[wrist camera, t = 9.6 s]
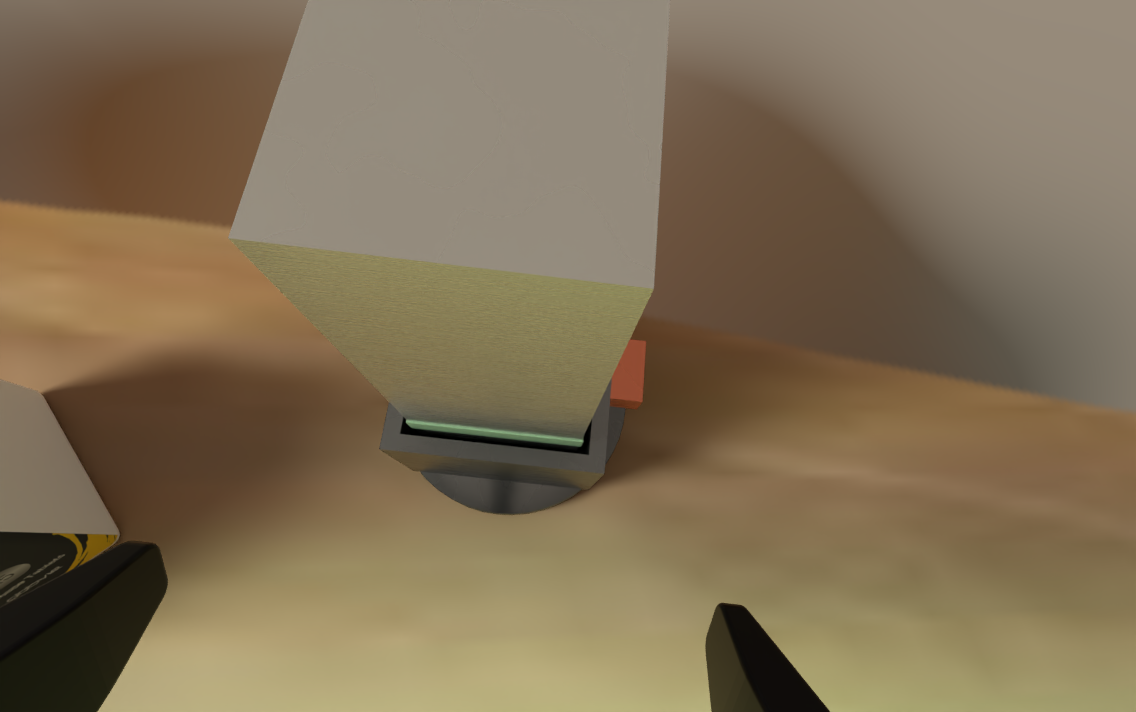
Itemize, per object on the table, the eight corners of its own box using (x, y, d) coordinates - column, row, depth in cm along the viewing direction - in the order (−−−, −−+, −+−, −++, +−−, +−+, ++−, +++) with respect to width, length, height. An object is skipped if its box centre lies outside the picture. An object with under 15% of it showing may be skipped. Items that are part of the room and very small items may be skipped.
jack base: (614, 527, 22) (642, 520, 16) (379, 501, 22) (327, 486, 16) (629, 312, 25) (657, 245, 19) (423, 288, 24) (391, 213, 19)
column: (578, 452, 18) (657, 293, 7) (417, 434, 18) (222, 241, 7) (591, 306, 20) (674, -20, 8) (445, 289, 20) (326, -66, 8)
